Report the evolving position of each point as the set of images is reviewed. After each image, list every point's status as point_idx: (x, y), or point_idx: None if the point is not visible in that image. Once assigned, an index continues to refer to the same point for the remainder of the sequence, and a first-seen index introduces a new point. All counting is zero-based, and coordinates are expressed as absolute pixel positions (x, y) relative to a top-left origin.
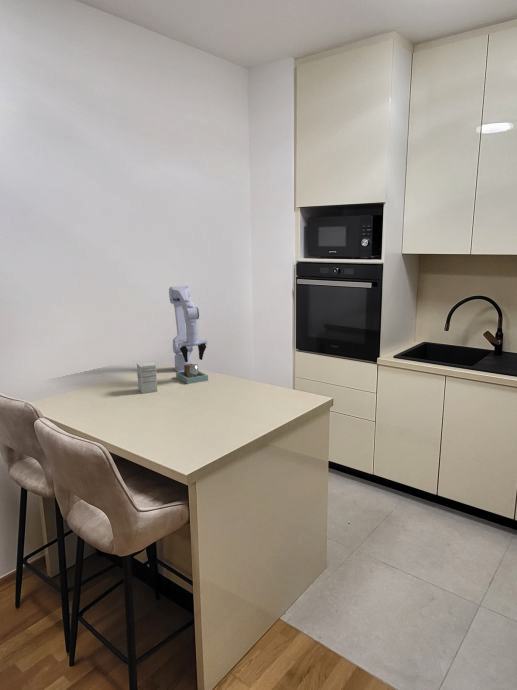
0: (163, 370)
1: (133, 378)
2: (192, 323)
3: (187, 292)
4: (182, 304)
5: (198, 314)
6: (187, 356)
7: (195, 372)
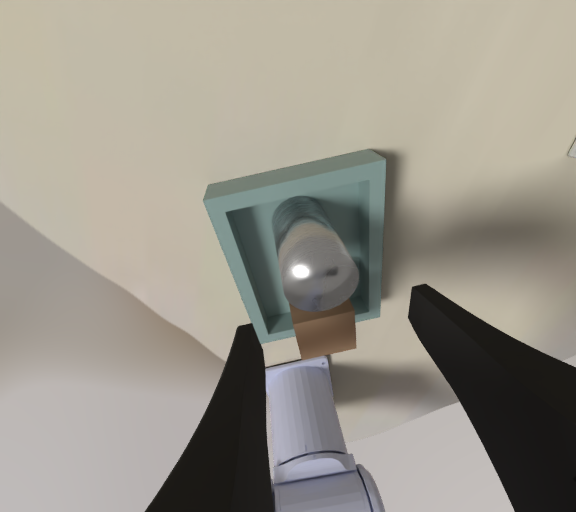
0: (370, 385)
1: (515, 325)
2: None
3: None
4: None
5: None
6: (462, 330)
7: (308, 221)
